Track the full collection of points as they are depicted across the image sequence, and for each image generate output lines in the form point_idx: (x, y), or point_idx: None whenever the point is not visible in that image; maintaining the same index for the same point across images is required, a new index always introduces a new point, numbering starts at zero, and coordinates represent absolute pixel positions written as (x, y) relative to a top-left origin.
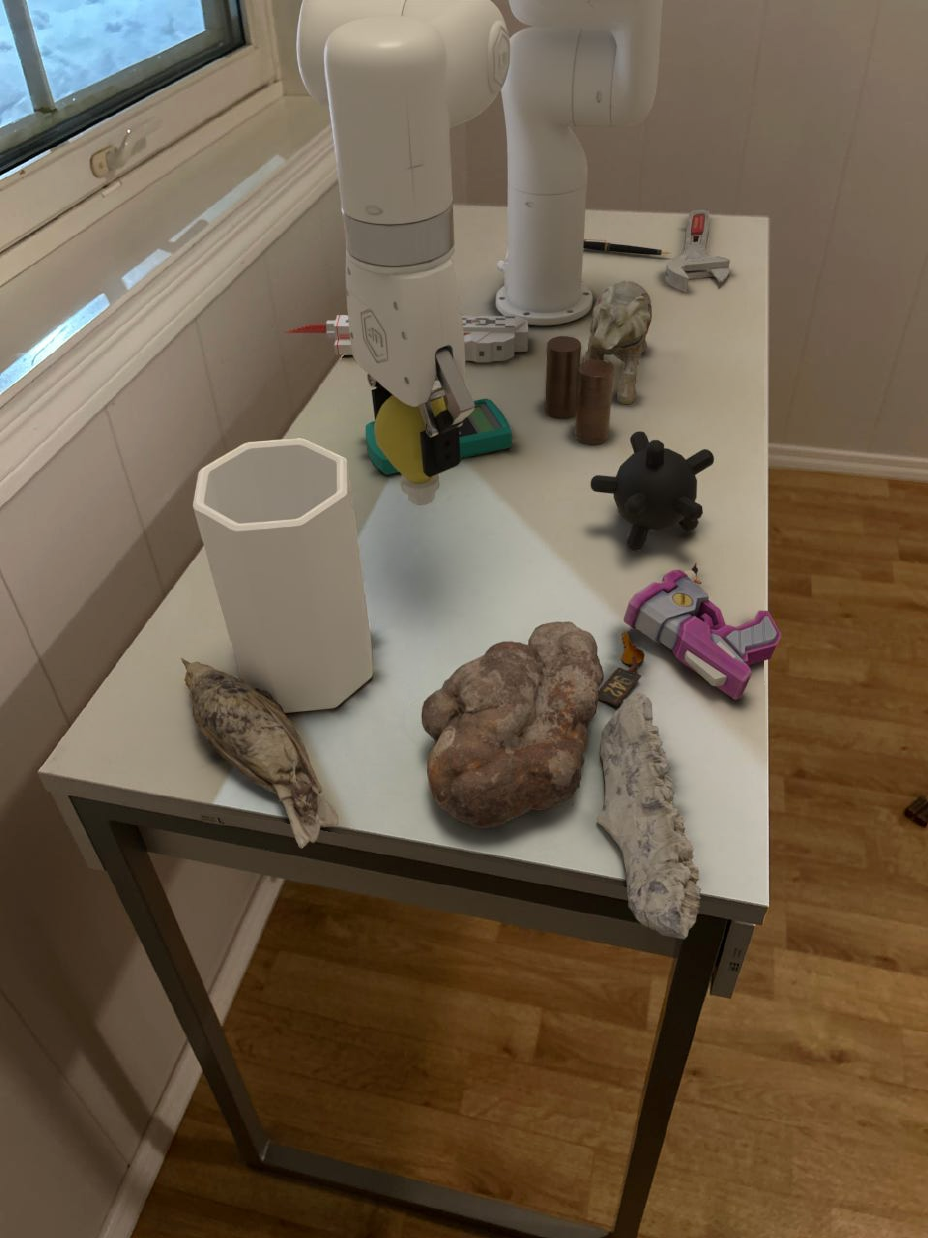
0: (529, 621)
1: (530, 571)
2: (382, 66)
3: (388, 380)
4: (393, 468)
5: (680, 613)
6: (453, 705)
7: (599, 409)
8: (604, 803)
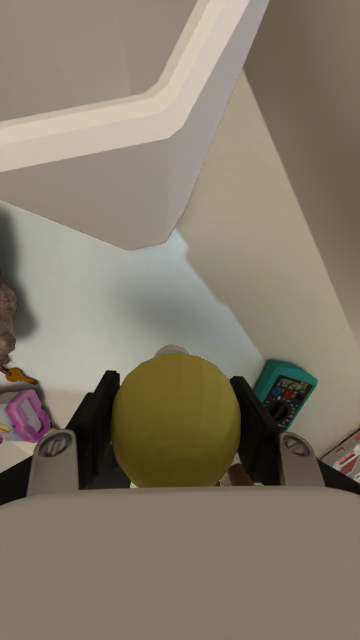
0: (83, 347)
1: (124, 375)
2: None
3: (120, 561)
4: (267, 368)
5: None
6: None
7: None
8: None
